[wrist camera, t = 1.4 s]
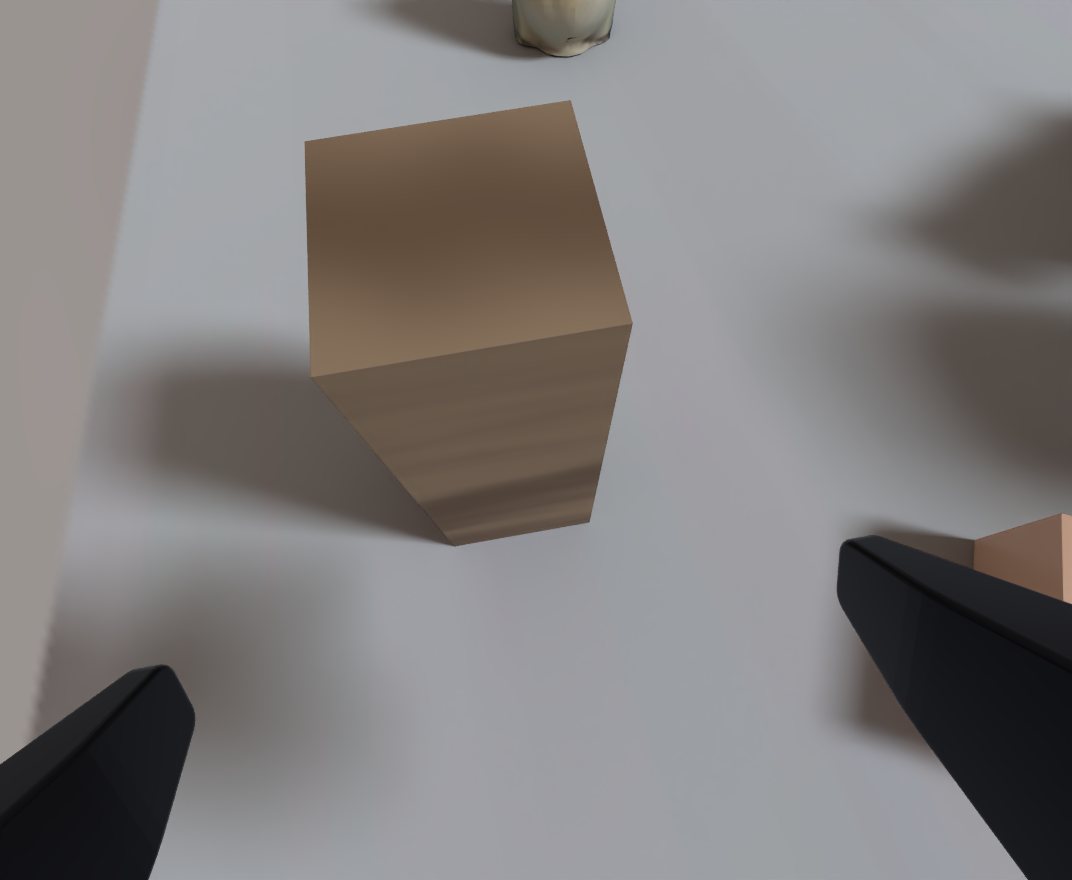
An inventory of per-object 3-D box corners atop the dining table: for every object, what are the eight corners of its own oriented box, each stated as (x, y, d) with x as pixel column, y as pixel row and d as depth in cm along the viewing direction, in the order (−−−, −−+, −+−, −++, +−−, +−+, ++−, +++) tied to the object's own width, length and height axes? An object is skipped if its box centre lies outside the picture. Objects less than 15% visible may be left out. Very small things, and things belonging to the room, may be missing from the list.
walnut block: (589, 522, 21) (632, 323, 9) (454, 546, 21) (310, 376, 9) (563, 401, 23) (570, 100, 11) (439, 422, 23) (304, 141, 11)
